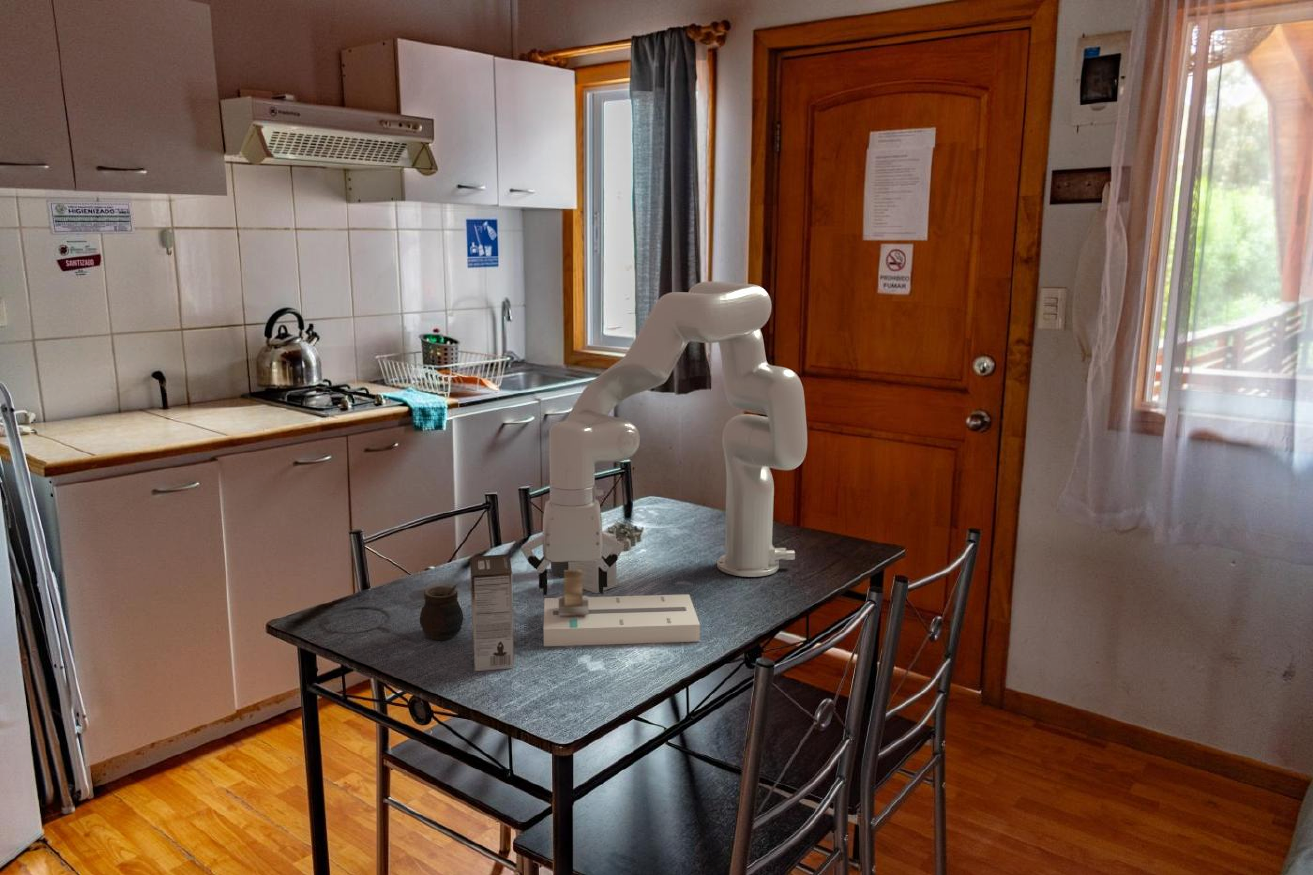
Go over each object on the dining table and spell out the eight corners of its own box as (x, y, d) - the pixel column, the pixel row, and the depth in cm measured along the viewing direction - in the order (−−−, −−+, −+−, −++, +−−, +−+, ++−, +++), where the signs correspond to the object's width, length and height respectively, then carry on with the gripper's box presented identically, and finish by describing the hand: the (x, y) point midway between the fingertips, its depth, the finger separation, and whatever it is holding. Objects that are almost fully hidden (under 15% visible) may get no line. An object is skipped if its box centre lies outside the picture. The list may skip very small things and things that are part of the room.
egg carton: (626, 554, 212) (626, 536, 211) (594, 549, 215) (594, 531, 214) (647, 540, 221) (647, 522, 221) (616, 535, 224) (616, 518, 224)
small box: (617, 587, 192) (617, 534, 190) (596, 594, 188) (596, 541, 186) (588, 577, 197) (588, 526, 195) (567, 584, 193) (567, 532, 191)
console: (688, 610, 181) (689, 593, 180) (699, 641, 167) (700, 624, 167) (544, 614, 178) (544, 597, 178) (543, 646, 165) (543, 628, 164)
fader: (587, 603, 174) (587, 568, 173) (588, 614, 169) (588, 578, 168) (558, 604, 173) (558, 569, 172) (558, 615, 169) (558, 579, 167)
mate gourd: (440, 623, 174) (439, 569, 172) (474, 633, 170) (473, 577, 168) (411, 637, 168) (409, 581, 166) (445, 647, 164) (444, 590, 162)
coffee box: (472, 648, 164) (469, 555, 160) (511, 645, 165) (509, 552, 162) (474, 672, 155) (471, 574, 152) (515, 669, 156) (513, 571, 153)
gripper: (622, 488, 171) (622, 582, 175) (521, 490, 170) (522, 585, 173) (625, 500, 164) (625, 598, 168) (519, 502, 162) (521, 601, 166)
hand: (573, 591), depth 171 cm, fingers open, 9 cm apart
